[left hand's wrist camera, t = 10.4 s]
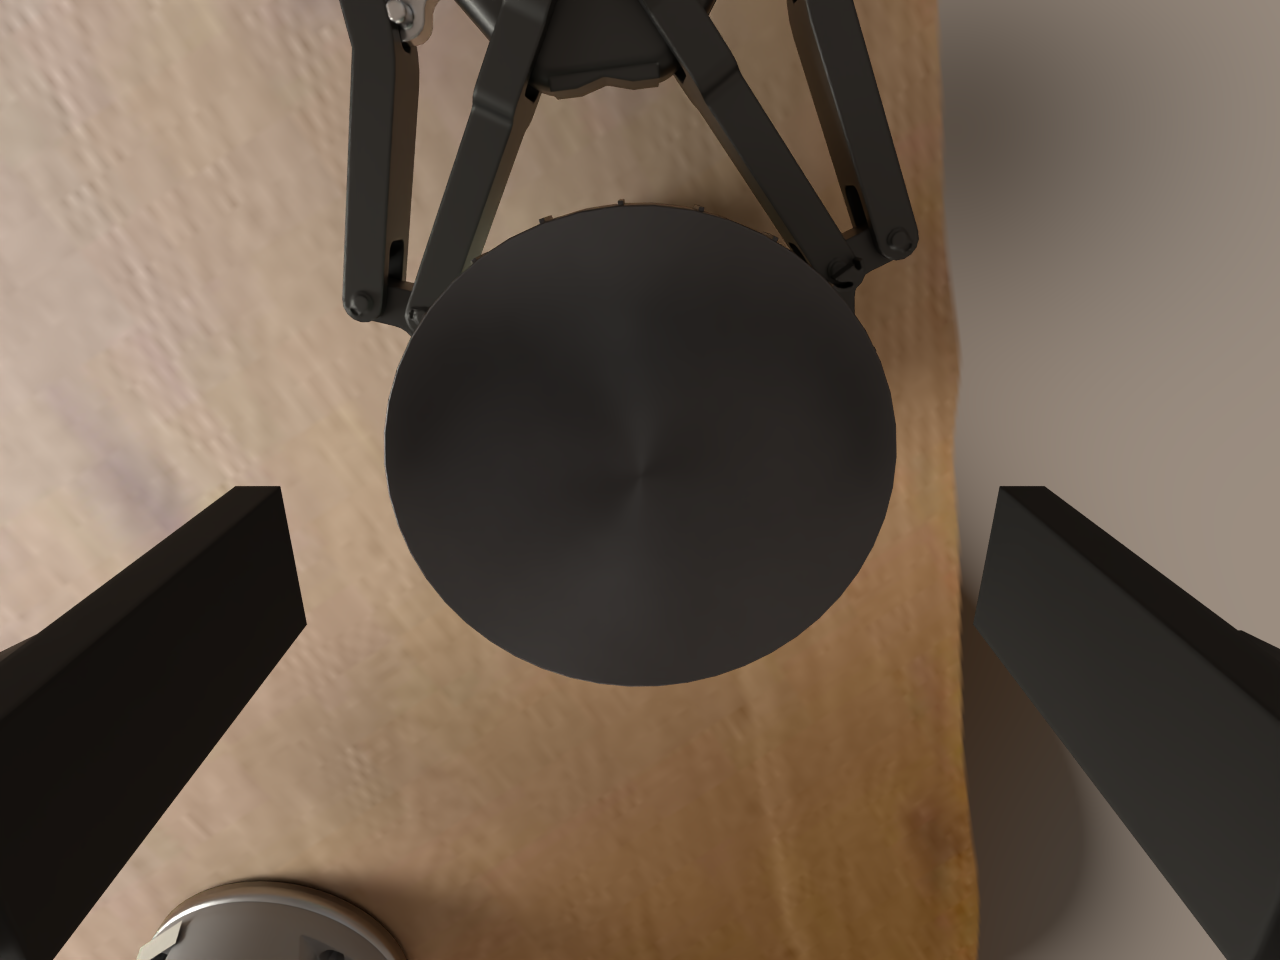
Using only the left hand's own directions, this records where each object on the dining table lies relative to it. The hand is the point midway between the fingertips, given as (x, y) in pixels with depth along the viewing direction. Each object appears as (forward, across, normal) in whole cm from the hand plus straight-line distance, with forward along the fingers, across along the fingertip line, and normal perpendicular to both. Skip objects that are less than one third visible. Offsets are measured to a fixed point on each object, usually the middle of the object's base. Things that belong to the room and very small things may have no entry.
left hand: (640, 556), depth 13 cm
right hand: (+13, 0, -4) cm, 14 cm away
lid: (+4, 0, 0) cm, 4 cm away
